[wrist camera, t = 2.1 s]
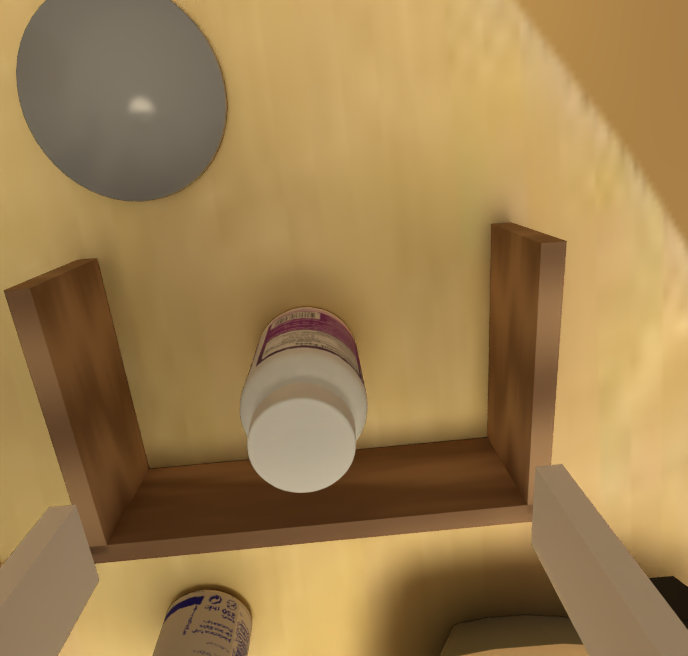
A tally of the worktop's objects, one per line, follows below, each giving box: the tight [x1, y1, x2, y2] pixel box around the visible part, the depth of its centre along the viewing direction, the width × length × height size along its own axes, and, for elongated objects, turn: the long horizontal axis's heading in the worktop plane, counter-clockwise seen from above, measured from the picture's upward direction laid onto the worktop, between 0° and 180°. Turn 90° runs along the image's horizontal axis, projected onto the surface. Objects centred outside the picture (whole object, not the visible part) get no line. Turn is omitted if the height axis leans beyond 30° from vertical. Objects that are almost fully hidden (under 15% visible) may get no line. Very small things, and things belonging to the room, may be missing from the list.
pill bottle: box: [240, 307, 367, 493], centre depth 22 cm, size 5×5×10 cm
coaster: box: [16, 0, 227, 201], centre depth 22 cm, size 9×9×1 cm
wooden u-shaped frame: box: [4, 222, 567, 564], centre depth 24 cm, size 14×22×6 cm, turn 95°
